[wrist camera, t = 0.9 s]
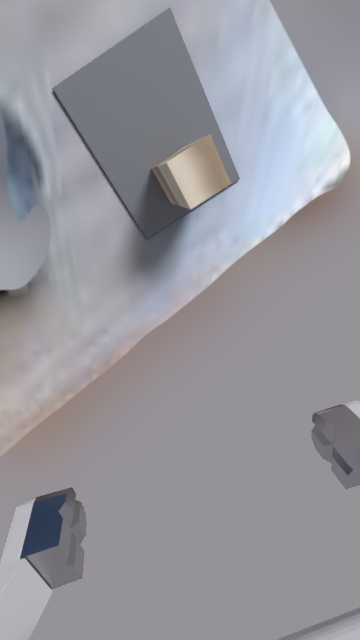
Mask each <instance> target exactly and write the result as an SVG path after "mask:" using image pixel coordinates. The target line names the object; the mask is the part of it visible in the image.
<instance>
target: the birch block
mask: <svg viewBox="0 0 360 640" xmlns="http://www.w3.org/2000/svg"><path fill="white" fill-rule="evenodd" d="M151 169H152V171H153V173H154V175H155V177H156V179H157V180H158V182H159V184H160V186H161V188H162V190H163V191H164V193H165V195H166V197H167V199H168V201H169V202H170V203H172V204H175V205H178V206H181V207H184V208H188V209H192V208H194V207H195V206H197V205H198V204H200V203H201V202H203V201H205V200H206V199H208V198H209V197H211V196H212V195H214V194H215V193H217V192H218V191H220V190H222V189H223V188H225V187H226V186H228V185H229V184H231V182H230V180H229V177H228V175H227V173H226V170H225V168H224V166H223V163H222V161H221V159H220V156H219V154H218V152H217V149H216V147H215V144H214V142H213V140H212V137H211V135H210V134H209V135H207V136H205V137H203V138H201V139H199V140H197V141H195V142H193V143H191V144H189V145H187V146H185V147H183V148H181V149H180V150H178V151H176V152H175V153H173V154H172V155H170V156H169V157H167V158H166V159H164V160H163V161H161V162H160V163H158V164H157V165H155V166H154V167H152V168H151Z"/></svg>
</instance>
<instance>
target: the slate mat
mask: <svg viewBox="0 0 360 640" xmlns="http://www.w3.org/2000/svg"><path fill="white" fill-rule="evenodd" d="M53 90H54V92H55V93H56V95H57V96H58V98H59V100H60V101H61V103H62V104H63V106H64V108H65V109H66V111H67V112H68V114H69V116H70V117H71V119H72V120H73V122H74V124H75V125H76V127H77V128H78V130H79V132H80V133H81V135H82V136H83V138H84V140H85V141H86V143H87V144H88V146H89V148H90V149H91V151H92V152H93V154H94V156H95V157H96V159H97V160H98V162H99V164H100V165H101V167H102V168H103V170H104V172H105V173H106V175H107V176H108V178H109V180H110V181H111V183H112V184H113V186H114V188H115V189H116V191H117V192H118V194H119V196H120V197H121V199H122V200H123V202H124V204H125V205H126V207H127V208H128V210H129V212H130V213H131V215H132V216H133V218H134V220H135V221H136V223H137V224H138V226H139V228H140V229H141V231H142V232H143V234H144V236H145V237H146V239H148V238H149V237H151V236H152V235H154V234H156V233H157V232H159V231H160V230H162V229H163V228H165V227H166V226H168V225H169V224H171V223H173V222H174V221H176V220H177V219H179V218H180V217H182V216H183V215H185V214H186V213H188V212H189V211H191V210H193V209H194V208H196V207H197V206H199V205H200V204H202V203H203V202H205V201H206V200H208V199H210V198H211V197H213V196H214V195H216V194H217V193H219V192H220V191H222V190H223V189H225V188H226V187H228V186H230V185H231V184H233V183H234V182H236V181H237V180H239V179H240V178H239V176H238V174H237V171H236V169H235V166H234V164H233V161H232V159H231V156H230V154H229V151H228V149H227V147H226V144H225V142H224V139H223V137H222V134H221V132H220V129H219V127H218V124H217V122H216V120H215V117H214V115H213V112H212V110H211V107H210V105H209V102H208V100H207V97H206V95H205V93H204V90H203V88H202V85H201V83H200V80H199V78H198V75H197V73H196V71H195V68H194V66H193V63H192V61H191V58H190V56H189V53H188V51H187V48H186V46H185V44H184V41H183V39H182V36H181V34H180V31H179V29H178V26H177V24H176V21H175V19H174V17H173V14H172V12H171V9H170V8H169V9H167V10H166V11H164V12H163V13H161V14H160V15H158V16H157V17H155V18H154V19H153V20H151V21H150V22H148V23H147V24H145V25H144V26H142V27H141V28H139V29H138V30H137V31H135V32H134V33H132V34H131V35H129V36H128V37H126V38H125V39H123V40H122V41H121V42H119V43H118V44H116V45H115V46H113V47H112V48H110V49H109V50H108V51H106V52H105V53H103V54H102V55H100V56H99V57H97V58H96V59H94V60H93V61H92V62H90V63H89V64H87V65H86V66H84V67H83V68H81V69H80V70H78V71H77V72H76V73H74V74H73V75H71V76H70V77H68V78H67V79H65V80H64V81H62V82H61V83H60V84H58V85H57V86H55V87H54V88H53ZM209 134H210V135H211V137H212V140H213V142H214V144H215V147H216V149H217V152H218V154H219V156H220V159H221V161H222V163H223V166H224V168H225V170H226V173H227V175H228V177H229V180H230V182H231V184H229V185H228V186H226V187H225V188H223V189H222V190H220V191H218V192H217V193H215V194H214V195H212V196H211V197H209V198H208V199H206V200H205V201H203V202H201V203H200V204H198V205H197V206H195V207H194V208H192V209H188V208H184V207H181V206H178V205H175V204H172V203H170V202H169V201H168V199H167V197H166V195H165V193H164V191H163V190H162V188H161V186H160V184H159V182H158V180H157V179H156V177H155V175H154V173H153V171H152V169H151V168H152V167H154V166H155V165H157V164H158V163H160V162H161V161H163V160H164V159H166V158H167V157H169V156H170V155H172V154H173V153H175V152H176V151H178V150H180V149H181V148H183V147H185V146H187V145H189V144H191V143H193V142H195V141H197V140H199V139H201V138H203V137H205V136H207V135H209Z"/></svg>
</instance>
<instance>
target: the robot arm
mask: <svg viewBox="0 0 360 640" xmlns="http://www.w3.org/2000/svg"><path fill="white" fill-rule="evenodd" d="M312 421H313V423H314V424H315V427H314V428H313V429H312V440H313V443H314V446H315V448H316V449H317V451H318V453H319V454H320V456H322V458H323V459H325V460H327V461H329V462H331V464H332V465H331V468H332V471H333V473H334V474H335V475H336V477H337V478H338V479H339V480H340V482H341V483H342V485H343V486H344V487H345V489H348V488H351V487H354V486H358V485H360V402H359V401H356V400H355V401H351V402H348V403H345V404H342V405H337V406H334V407H331V408H328V409H325V410H322V411H319V412H315V413H314V414H313V416H312ZM75 497H76V493H75V491H74V490H73V488H68V489H64V490H61V491H57V492H53V493H50V494H46V495H43V496H39V497H36V498H32V499H29V500H25V501H22V502H20V503H19V505H18V506H17V508H16V510H15V513H14V516H13V520H12V523H11V526H10V530H9V533H8V536H7V540H6V543H5V546H4V550H3V553H2V556H1V560H0V640H29V638H30V636H31V634H32V632H33V630H34V628H35V625H36V624H37V622H38V620H39V618H40V616H41V614H42V612H43V610H44V608H45V606H46V604H47V601H48V600H49V598H50V596H51V594H52V589H54V588H56V587H60V586H62V585H65V584H68V583H70V582H73V581H76V580H78V579H81V578H82V573H83V562H84V550H83V549H82V547H81V545H80V543H81V542H82V540H83V539H84V537H85V535H86V515H85V511H84V507H83V505H82V503H81V502H79V501H77V500H75ZM277 640H360V608H357V609H355V610H352V611H349V612H347V613H344V614H342V615H340V616H337V617H334V618H331V619H329V620H326V621H324V622H321V623H319V624H316V625H313V626H311V627H308V628H305V629H303V630H300V631H298V632H295V633H293V634H290V635H287V636H285V637H282V638H279V639H277Z"/></svg>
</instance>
